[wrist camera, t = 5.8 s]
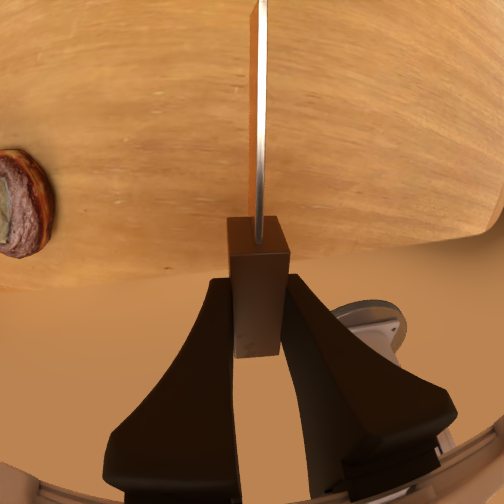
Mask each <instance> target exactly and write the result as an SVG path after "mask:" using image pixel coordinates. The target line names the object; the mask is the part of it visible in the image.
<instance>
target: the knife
mask: <svg viewBox="0 0 504 504" xmlns="http://www.w3.org/2000/svg"><path fill="white" fill-rule="evenodd" d="M267 37H268V0H257V2H256V4H255V6H254V8H253V10H252V12H251V14H250V63H249V217H229V218H227V243H228V266H229V278H230V289H231V301H232V321H233V339H234V358H237V359H238V358H251V357H264V356H275V355H279V350H280V343H281V339H280V335H281V327H282V318H283V309H284V300H285V291H286V287H287V283H288V272H289V263H290V253H291V252H290V249H289V247H288V244H287V242H286V239H285V236H284V234H283V231H282V229H281V226H280V224H279V221H278V219H277V216H264V185H265V146H266V100H267Z"/></svg>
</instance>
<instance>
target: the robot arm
mask: <svg viewBox="0 0 504 504" xmlns="http://www.w3.org/2000/svg"><path fill="white" fill-rule="evenodd" d="M399 325H400V322H399V321H398V320H390V321H385V322H379V323H373V324H367V325H361V326H355V327H348V328H347V327H346V326H345V325H343V324H342V323H341V322H340V321H339V320H338V319H337V318H336V317H335V316H334V315H333V314H332V313H331V312H330V311H329V309H328V308H327V307H326V306H325V305H324V304H323V303H322V302H321V301H320V300H319V299H318V298H317V297H316V295H315V294H314V293H313V292H312V291H311V290H310V289H309V287H308V286H307V285H306V284H305V283H304V281H303V280H302V279H301V278H300V276H298V274H288V283H287V287H286V291H285V300H284V309H283V318H282V327H281V335H280V339H281V343H282V347H283V350H284V353H285V357H286V360H287V364H288V367H289V371H290V374H291V377H292V380H293V384H294V387H295V392H296V396H297V401H298V406H299V412H300V418H301V424H302V431H303V437H304V444H305V452H306V460H307V469H308V480H309V492H310V497H311V500H306V501H300V502H295V503H288V504H485V503H486V502H488V501H489V500H490V499H491V498H492V497H493V496H494V495H495V494H496V493H497V492H498V491H499V490H500V489H501V488H502V487H503V486H504V415H503V416H502V417H501V418H499V419H498V420H497V421H496V422H495V423H494V424H493V425H492V426H490V427H489V428H487V429H486V430H484V431H483V432H481V433H479V434H478V435H476V436H475V437H473V438H471V439H469V440H468V441H466V442H464V443H463V444H461V445H459V446H457V447H456V446H455V443H454V441H453V438H452V436H451V433H450V431H449V429H448V426H449V425H450V424H451V423H452V422H453V421H454V420H455V419H456V418H457V415H458V412H457V410H456V408H455V406H454V404H453V402H452V399H451V398H450V396H449V394H448V392H447V391H446V390H445V389H443V388H441V387H439V386H436V385H434V384H432V383H430V382H427V381H425V380H423V379H421V378H419V377H417V376H415V375H413V374H411V373H410V372H408V371H406V370H404V369H402V368H401V366H400V364H399V362H398V360H397V358H396V356H395V354H394V352H393V350H392V348H391V346H390V344H391V341H392V339H393V337H394V335H395V333H396V331H397V329H398V327H399ZM233 350H234V339H233V321H232V301H231V289H230V278H213V279H212V280H210V282H209V287H208V291H207V294H206V297H205V300H204V302H203V305H202V308H201V310H200V312H199V315H198V317H197V319H196V321H195V324H194V326H193V328H192V329H191V332H190V333H189V335H188V337H187V339H186V341H185V343H184V345H183V346H182V348H181V350H180V351H179V353H178V355H177V356H176V358H175V359H174V361H173V362H172V364H171V366H170V367H169V368H168V370H167V371H166V372H165V374H164V375H163V377H162V378H161V379H160V381H159V382H158V384H157V385H156V386H155V387H154V388H153V390H152V391H151V392H150V393H149V394H148V395H147V397H146V398H145V399H144V400H143V401H142V402H141V404H140V405H139V406H138V407H137V408H136V409H135V410H134V411H133V412H132V413H131V414H130V415H129V416H128V417H127V418H126V419H125V420H124V421H123V422H122V423H121V424H120V425H119V426H118V427H117V428H116V429H115V430H114V431H113V432H112V433H111V435H110V437H109V441H108V444H107V448H106V451H105V456H104V465H103V475H102V477H103V480H104V481H105V482H106V483H108V484H109V485H111V486H113V487H115V488H117V489H119V490H121V491H123V492H125V496H124V502H118V501H112V500H108V499H103V498H98V497H94V496H90V495H86V494H82V493H78V492H74V491H71V490H68V489H65V488H61V487H58V486H55V485H52V484H49V483H46V482H43V481H41V480H39V479H38V478H36V477H34V476H32V475H30V474H28V473H26V472H24V471H22V470H20V469H17V468H15V467H13V466H10V465H8V464H6V463H4V462H0V504H242V492H241V483H240V474H239V465H238V455H237V445H236V435H235V423H234V413H233Z"/></svg>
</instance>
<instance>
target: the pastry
mask: <svg viewBox="0 0 504 504" xmlns="http://www.w3.org/2000/svg"><path fill="white" fill-rule="evenodd" d="M53 215H54V205H53V198H52V193H51V190H50V187H49V184H48V181H47V178H46V175H45V173H44V172H43V171H42V170H41V169H40V167H39V166H38V165H37V164H36V163H35V162H34V160H33V159H32V158H31V157H30V156H29V155H28V154H26V153H25V152H23V151H21V150H2V151H0V252H1V253H3V254H4V255H6V256H10V257H14V258H18V259H21V258H24V257H27V256H31V255H33V254H34V253H37V252H39V251H40V250H42V249H43V248H44V246H45V245H46V244H47V243H48V241H49V240H50V238H51V230H52V222H53Z"/></svg>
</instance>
